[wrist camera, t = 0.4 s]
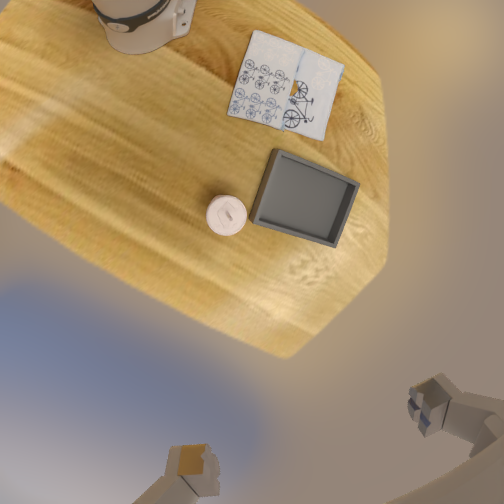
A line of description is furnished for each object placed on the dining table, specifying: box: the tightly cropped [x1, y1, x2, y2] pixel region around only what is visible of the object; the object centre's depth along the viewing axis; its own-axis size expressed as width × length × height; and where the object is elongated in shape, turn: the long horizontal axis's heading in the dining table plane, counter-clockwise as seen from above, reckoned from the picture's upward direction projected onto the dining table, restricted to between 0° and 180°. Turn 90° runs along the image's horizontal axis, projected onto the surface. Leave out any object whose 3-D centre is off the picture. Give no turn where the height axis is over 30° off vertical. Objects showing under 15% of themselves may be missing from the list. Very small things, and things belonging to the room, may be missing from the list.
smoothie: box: [206, 195, 247, 236], centre depth 48 cm, size 6×6×14 cm
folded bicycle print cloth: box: [227, 30, 345, 141], centre depth 49 cm, size 19×20×2 cm
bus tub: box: [249, 149, 360, 248], centre depth 55 cm, size 14×18×4 cm
